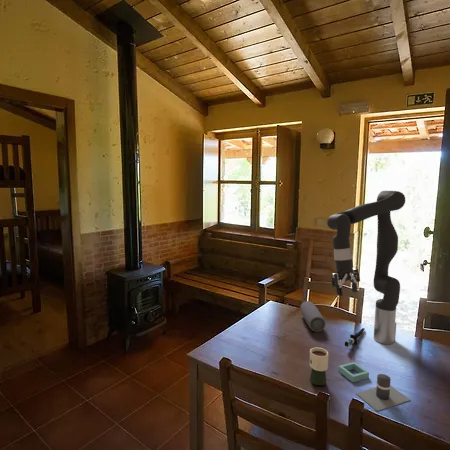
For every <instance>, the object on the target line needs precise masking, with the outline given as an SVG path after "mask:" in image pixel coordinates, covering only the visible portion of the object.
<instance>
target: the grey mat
mask: <svg viewBox="0 0 450 450" xmlns="http://www.w3.org/2000/svg"><path fill="white" fill-rule="evenodd" d="M376 389H377V386H376V387H372V388H368V389H366V390H363V391H359V392H356V393H355V395H357V396H358V397H359V398H360V399H362V400H363V401H364V402H365V403H366V404H367V405H369V406H370V407H371V409H374V410H375V411H376V412H380V411H383V410H386V409H388V408H391V407H395V406H397V405H400V404H404V403H407V402H410V401H411V398H409V397H407V396H406V395H405V394H403V393H402V392H401V391H399V390H397V389H396V388H395V387H393V386H392V385H390V395H389V399H388V400H382V399H380V398H378V397H377V396H376Z"/></svg>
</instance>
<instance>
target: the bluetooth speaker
mask: <svg viewBox="0 0 450 450" xmlns="http://www.w3.org/2000/svg"><path fill="white" fill-rule="evenodd" d="M299 310H300V311H301V314H302V316H303V319H304V320H305V323H306V324H307V325H308V326H309V328H310V329H311V330H312V331H313V332H318V333H319V332H322V331H323V330H324V329H325V327H326V321H325V318H324V316H323V315H322V314H321V312H320V311H319V308H317V306H316V305H315V303H313V302H311V301H309V300H307V301H306V300H305V301H303V302H302V303H301V305H300V307H299Z"/></svg>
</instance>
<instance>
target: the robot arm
mask: <svg viewBox="0 0 450 450" xmlns="http://www.w3.org/2000/svg"><path fill="white" fill-rule="evenodd" d="M405 204H406V196H405V195H404V193H403V192H402V191H398V190H381V191H380V192H378V195H377V198H376V201H374V202H368V203H363V204H360V205H356V206H355V207H352V208H350V209H347V210H344V211H341V212H337V213H334V214H332V215H330V216H329V217H328V218H327V221H326V224H327V227H328V228H329V229H331V230H334V231H336V235H334V236H333V237H332V244H333V257H334V258H333V259H334V264H335V265H334V266H335V269H336V272H335V273H334V272H332V273H331V286H332V287H334V288H335V289H336V294H337V296H338V297H342V296H343V295H344V294H343V287H342V286H343V284H344V283H345V282H347V281H349V282H350V283H351V291H352V293H358V283H359V282H361V278H360V272H359V269H358V268H354V264H353V263H354V262H353V261H354V260H353V255H352V250H351V244H350V235H351V227H352V225H353V224H357V223H359V222H360V223H361V222H362V221H365V220H367V219H370V218H372V217H376V216H377V235H376V259H375V261H376V262H375V270H374V275H373V288H374V289H375V291H376V292H378V293H380V294H383V296H382V298H379V299H377V300H376V301H375V311H374V326H373V340H374V341H376V342H377V343H379V344H384V345H391V344H393V343H395V342H396V335H397V333H396V332H397V322H396V314H397V306H398V304H399V300H400V292H401V284H400V281H399V279H397V278H396V277H393V276H390V275H389V267H390V264H391V262H392V261H393V259H394V257H395V256H396V254H397V253H398V248H399V235H398V233H397V231H396V229H395V227H394V224H393V222H392V219H391V218H392V217H391V212H394V211H399V210H401V209H402V208H403V207H404V206H405Z"/></svg>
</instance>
